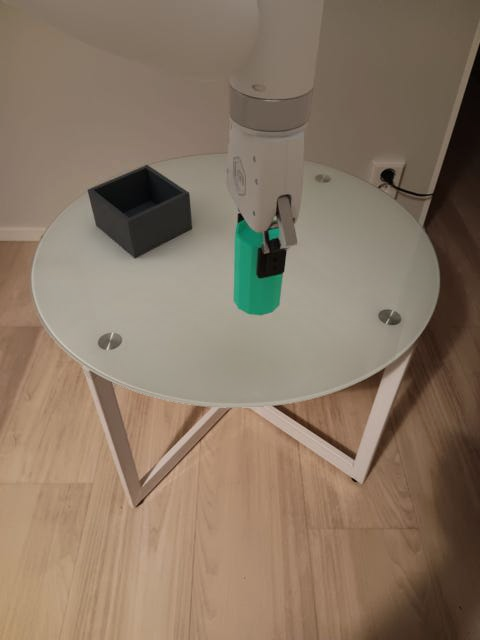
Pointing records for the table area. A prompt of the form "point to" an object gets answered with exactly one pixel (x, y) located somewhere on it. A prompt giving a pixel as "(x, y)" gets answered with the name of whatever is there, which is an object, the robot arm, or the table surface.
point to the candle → (253, 274)
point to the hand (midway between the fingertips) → (259, 255)
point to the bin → (141, 210)
